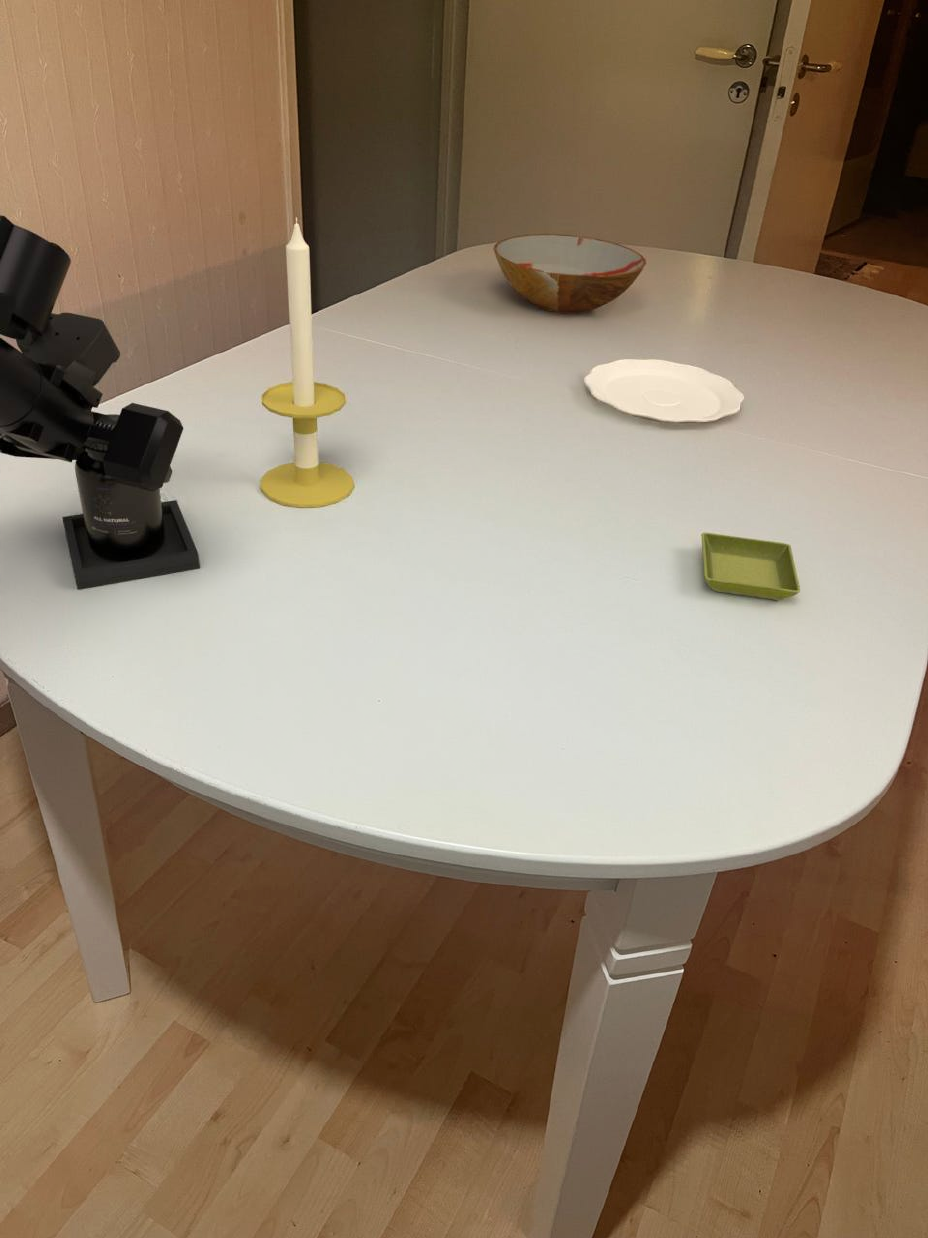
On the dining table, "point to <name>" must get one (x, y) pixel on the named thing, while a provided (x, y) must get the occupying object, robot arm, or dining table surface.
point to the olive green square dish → (749, 567)
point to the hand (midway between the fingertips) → (125, 465)
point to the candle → (303, 402)
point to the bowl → (567, 270)
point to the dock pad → (100, 571)
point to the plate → (663, 391)
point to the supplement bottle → (117, 510)
